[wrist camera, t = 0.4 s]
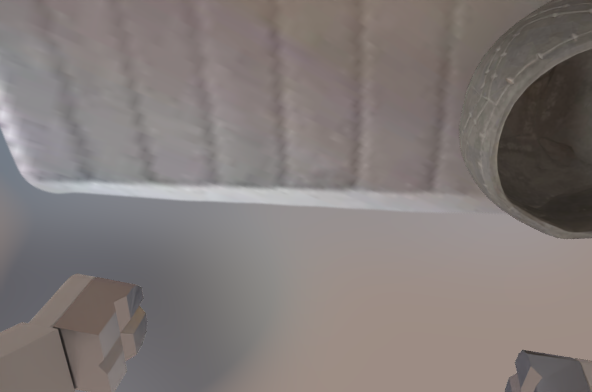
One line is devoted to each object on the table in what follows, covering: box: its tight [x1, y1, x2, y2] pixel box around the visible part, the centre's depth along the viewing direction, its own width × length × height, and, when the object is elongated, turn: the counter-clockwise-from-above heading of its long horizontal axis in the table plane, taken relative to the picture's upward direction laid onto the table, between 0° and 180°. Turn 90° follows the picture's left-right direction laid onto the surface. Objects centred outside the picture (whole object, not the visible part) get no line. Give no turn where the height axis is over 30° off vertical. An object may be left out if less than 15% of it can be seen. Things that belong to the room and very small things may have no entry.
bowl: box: [459, 0, 592, 239], centre depth 46 cm, size 21×21×15 cm
